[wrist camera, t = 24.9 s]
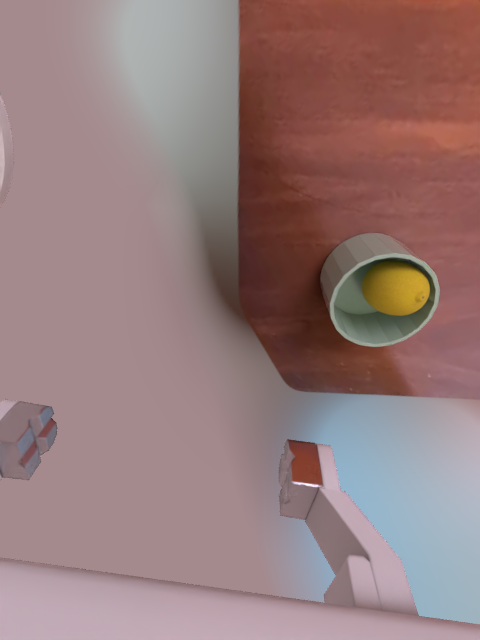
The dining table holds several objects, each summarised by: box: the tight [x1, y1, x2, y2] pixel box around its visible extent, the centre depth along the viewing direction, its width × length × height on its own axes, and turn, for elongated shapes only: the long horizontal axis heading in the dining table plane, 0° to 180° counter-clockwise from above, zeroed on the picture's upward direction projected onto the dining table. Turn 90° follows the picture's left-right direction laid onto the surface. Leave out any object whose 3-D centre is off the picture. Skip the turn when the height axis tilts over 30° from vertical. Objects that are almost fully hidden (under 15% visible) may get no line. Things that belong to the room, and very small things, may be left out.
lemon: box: [362, 261, 430, 316], centre depth 34 cm, size 6×6×8 cm
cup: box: [320, 233, 440, 347], centre depth 35 cm, size 10×10×7 cm
